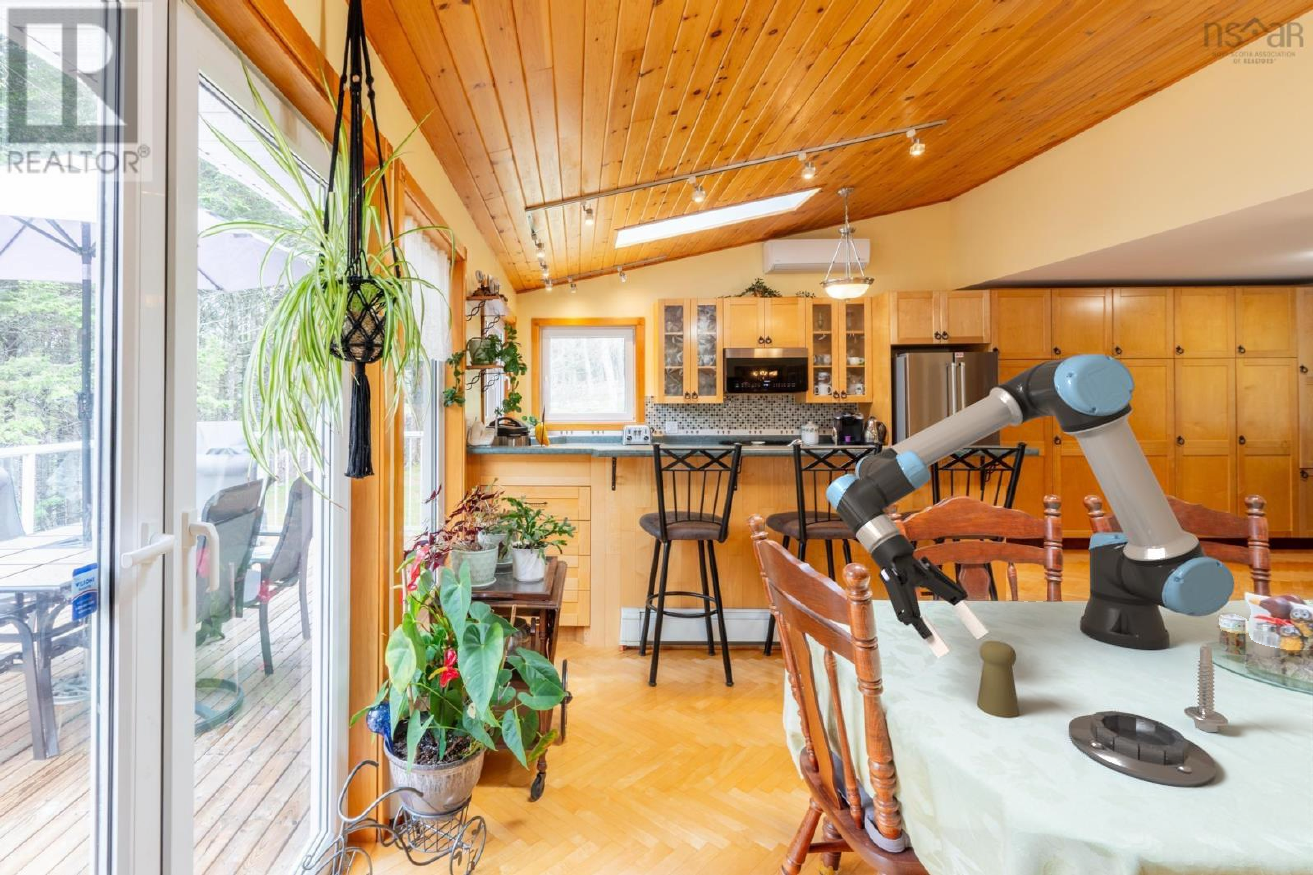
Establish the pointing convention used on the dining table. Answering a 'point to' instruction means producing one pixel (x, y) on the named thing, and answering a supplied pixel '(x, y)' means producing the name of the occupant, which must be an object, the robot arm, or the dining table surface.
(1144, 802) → the dining table surface
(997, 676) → the cork
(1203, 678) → the screw
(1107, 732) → the flange
